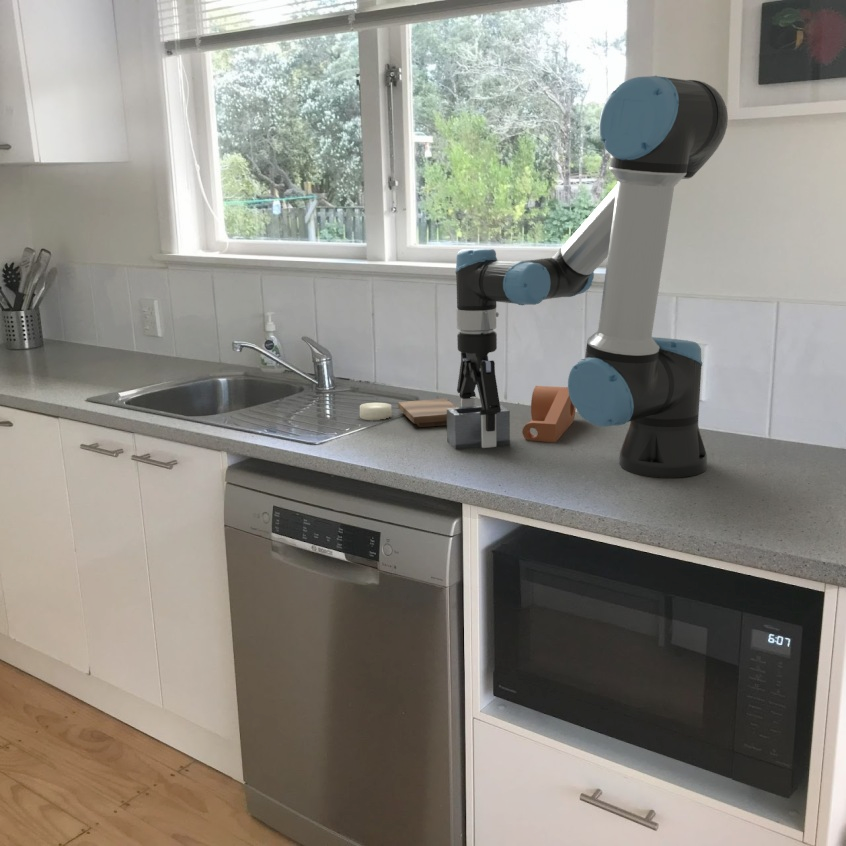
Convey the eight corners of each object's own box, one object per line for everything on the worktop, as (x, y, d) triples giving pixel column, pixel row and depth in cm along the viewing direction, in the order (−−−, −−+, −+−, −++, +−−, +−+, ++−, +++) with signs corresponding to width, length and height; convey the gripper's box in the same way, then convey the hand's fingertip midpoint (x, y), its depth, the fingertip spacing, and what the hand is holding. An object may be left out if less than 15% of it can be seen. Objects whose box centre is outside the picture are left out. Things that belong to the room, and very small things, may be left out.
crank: (539, 418, 202) (539, 382, 200) (575, 420, 199) (576, 384, 197) (516, 441, 184) (516, 402, 182) (555, 443, 181) (555, 404, 179)
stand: (464, 426, 195) (464, 412, 194) (414, 430, 193) (413, 417, 192) (445, 411, 209) (445, 398, 209) (398, 415, 207) (397, 402, 206)
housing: (509, 445, 180) (509, 410, 178) (455, 450, 177) (455, 415, 175) (499, 438, 185) (499, 404, 184) (447, 442, 183) (446, 408, 181)
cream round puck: (396, 420, 202) (396, 407, 202) (366, 423, 200) (365, 410, 199) (385, 414, 209) (384, 401, 208) (355, 417, 206) (355, 404, 205)
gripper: (517, 338, 165) (517, 452, 170) (476, 321, 188) (477, 422, 193) (477, 341, 163) (479, 456, 168) (440, 323, 187) (442, 425, 192)
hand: (478, 438), depth 181 cm, fingers open, 13 cm apart
